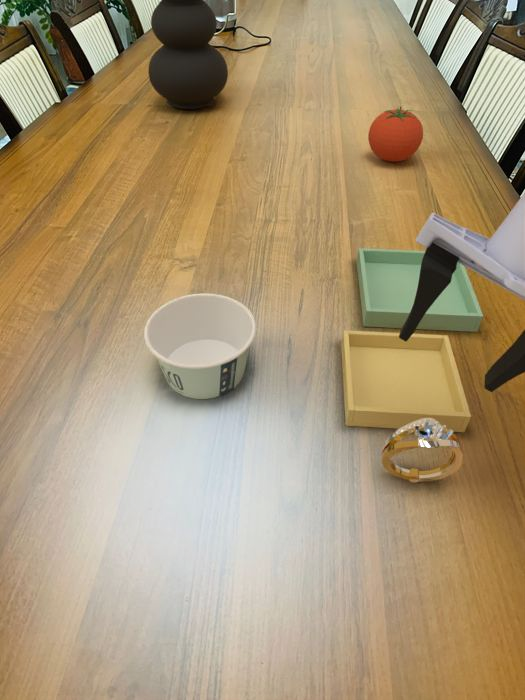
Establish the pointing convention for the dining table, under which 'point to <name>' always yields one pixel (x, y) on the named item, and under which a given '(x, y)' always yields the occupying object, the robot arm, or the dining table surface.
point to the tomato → (395, 135)
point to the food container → (201, 343)
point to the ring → (428, 439)
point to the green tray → (412, 293)
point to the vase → (186, 54)
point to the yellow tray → (401, 381)
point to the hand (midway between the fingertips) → (445, 359)
